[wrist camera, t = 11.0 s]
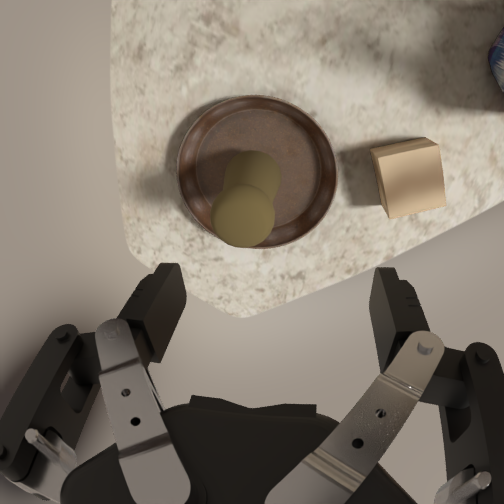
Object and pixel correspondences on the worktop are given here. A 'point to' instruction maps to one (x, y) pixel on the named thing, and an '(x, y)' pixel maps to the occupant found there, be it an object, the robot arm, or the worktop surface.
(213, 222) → the olive green pawn
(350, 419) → the robot arm
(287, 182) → the plant saucer
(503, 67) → the handbag
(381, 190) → the oak base block
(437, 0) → the worktop surface
